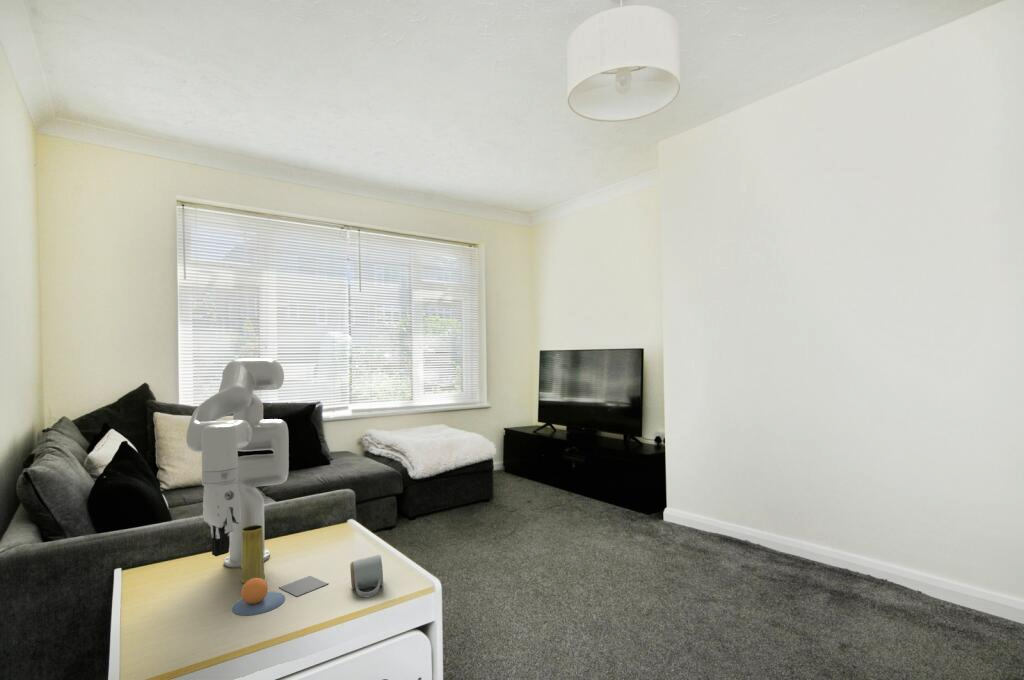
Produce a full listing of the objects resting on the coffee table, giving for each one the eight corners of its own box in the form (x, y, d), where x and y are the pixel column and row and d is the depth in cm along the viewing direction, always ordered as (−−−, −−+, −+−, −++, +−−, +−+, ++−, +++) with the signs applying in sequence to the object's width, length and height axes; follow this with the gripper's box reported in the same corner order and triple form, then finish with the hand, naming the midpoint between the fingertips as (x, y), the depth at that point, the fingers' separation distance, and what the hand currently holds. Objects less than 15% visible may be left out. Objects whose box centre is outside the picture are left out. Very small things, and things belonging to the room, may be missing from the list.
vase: (269, 576, 147) (269, 525, 147) (252, 585, 141) (251, 532, 141) (252, 574, 149) (252, 523, 149) (235, 582, 143) (234, 530, 143)
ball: (248, 577, 134) (261, 596, 135) (231, 592, 129) (244, 612, 129) (264, 569, 133) (277, 588, 133) (247, 584, 127) (261, 605, 127)
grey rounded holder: (349, 583, 141) (349, 555, 141) (380, 578, 144) (380, 550, 144) (352, 601, 131) (351, 570, 131) (385, 595, 134) (385, 565, 134)
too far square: (278, 588, 139) (278, 587, 139) (310, 576, 146) (310, 575, 146) (296, 596, 133) (296, 596, 133) (328, 584, 141) (328, 583, 141)
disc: (223, 606, 129) (223, 605, 129) (270, 588, 139) (270, 587, 139) (245, 620, 122) (245, 619, 122) (294, 600, 131) (294, 600, 131)
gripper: (250, 477, 123) (251, 555, 122) (222, 469, 132) (223, 543, 131) (216, 483, 117) (217, 566, 116) (190, 475, 126) (190, 552, 125)
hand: (220, 553), depth 124 cm, fingers closed
